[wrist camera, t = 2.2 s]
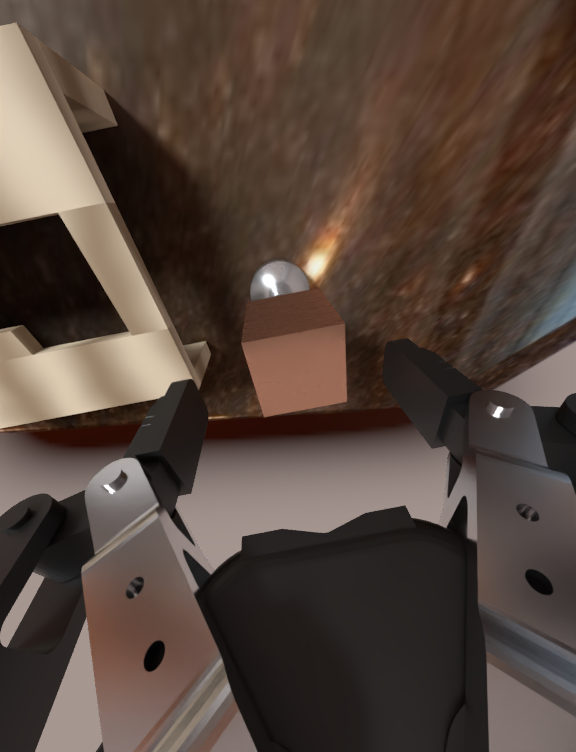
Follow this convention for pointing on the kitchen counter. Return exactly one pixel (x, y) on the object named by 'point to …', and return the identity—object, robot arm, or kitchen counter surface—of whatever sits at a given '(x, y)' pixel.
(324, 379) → the footed peg
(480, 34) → the kitchen counter surface
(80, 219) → the keyhole plate
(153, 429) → the robot arm
